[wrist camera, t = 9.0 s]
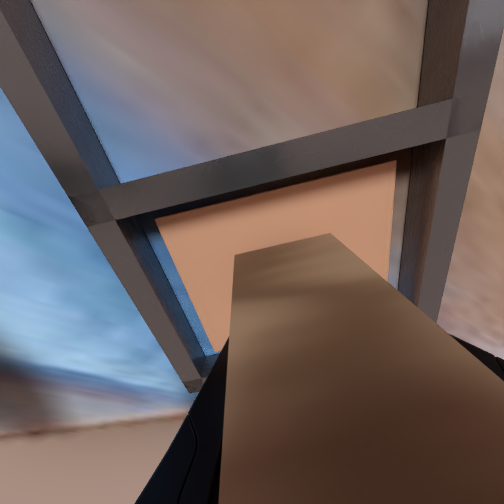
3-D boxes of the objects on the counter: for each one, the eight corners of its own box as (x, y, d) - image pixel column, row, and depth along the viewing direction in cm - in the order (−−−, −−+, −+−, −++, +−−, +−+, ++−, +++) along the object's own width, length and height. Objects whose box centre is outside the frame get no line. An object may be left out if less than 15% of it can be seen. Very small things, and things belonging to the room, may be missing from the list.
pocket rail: (194, 370, 14) (189, 393, 13) (-228, -392, 4) (-471, -675, 3) (411, 327, 14) (430, 346, 12) (587, -776, 3) (844, -1467, 2)
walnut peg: (255, 324, 11) (280, 619, 4) (234, 254, 9) (213, 578, 2) (334, 307, 11) (509, 588, 4) (330, 232, 9) (657, 513, 2)
